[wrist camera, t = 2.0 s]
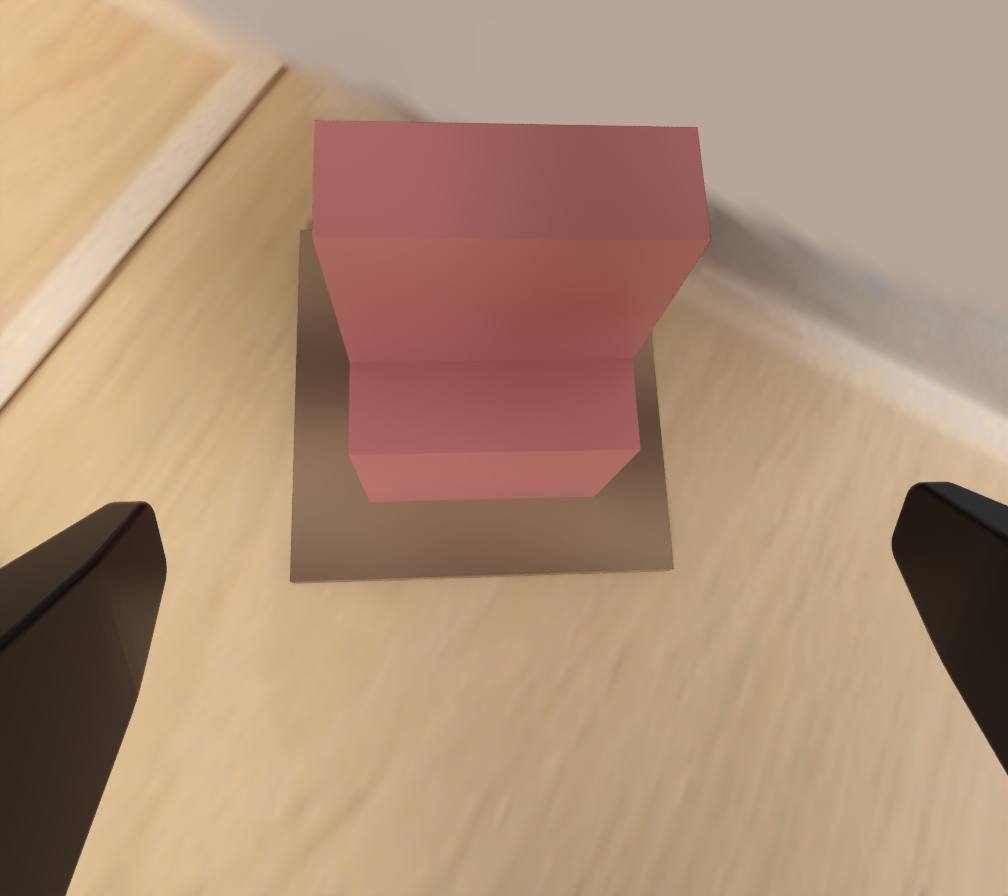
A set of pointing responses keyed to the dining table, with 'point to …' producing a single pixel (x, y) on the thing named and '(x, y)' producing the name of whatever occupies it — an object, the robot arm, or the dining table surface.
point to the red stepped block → (500, 295)
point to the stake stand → (452, 523)
